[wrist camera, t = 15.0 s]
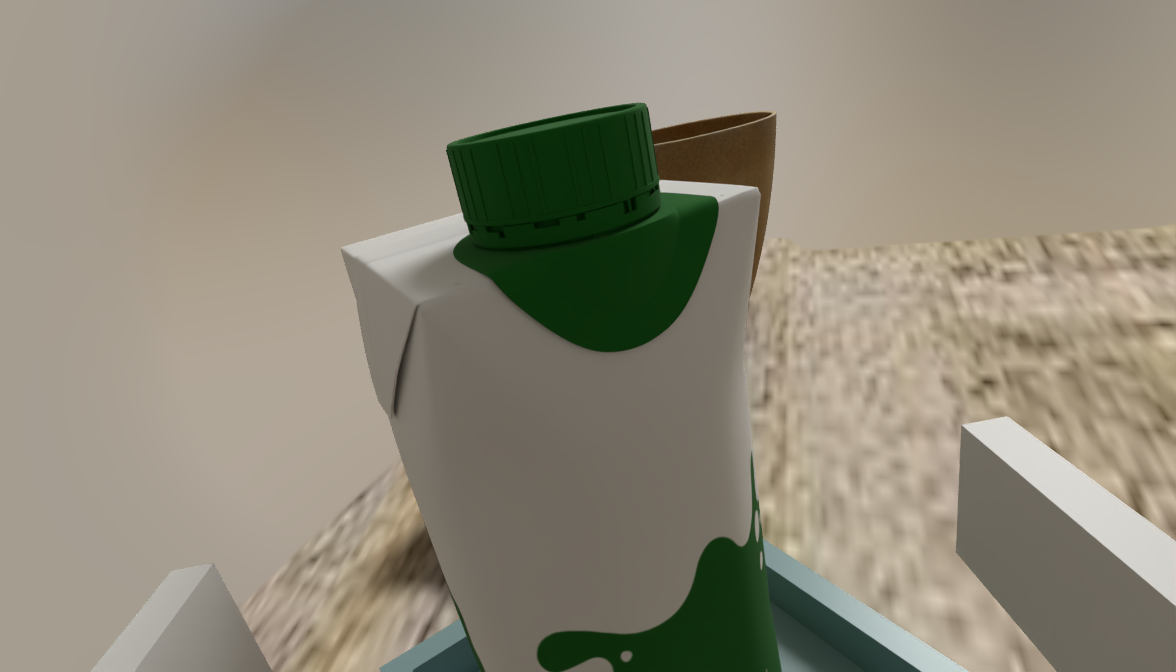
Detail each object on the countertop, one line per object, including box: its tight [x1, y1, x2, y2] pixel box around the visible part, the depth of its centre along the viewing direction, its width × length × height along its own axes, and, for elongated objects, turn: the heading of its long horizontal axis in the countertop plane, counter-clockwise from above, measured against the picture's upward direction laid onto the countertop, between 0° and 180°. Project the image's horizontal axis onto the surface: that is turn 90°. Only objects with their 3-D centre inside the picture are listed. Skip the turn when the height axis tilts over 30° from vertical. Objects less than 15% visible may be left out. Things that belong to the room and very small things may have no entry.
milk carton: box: [341, 103, 782, 672], centre depth 18 cm, size 9×9×20 cm
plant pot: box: [652, 111, 776, 298], centre depth 55 cm, size 15×15×16 cm
